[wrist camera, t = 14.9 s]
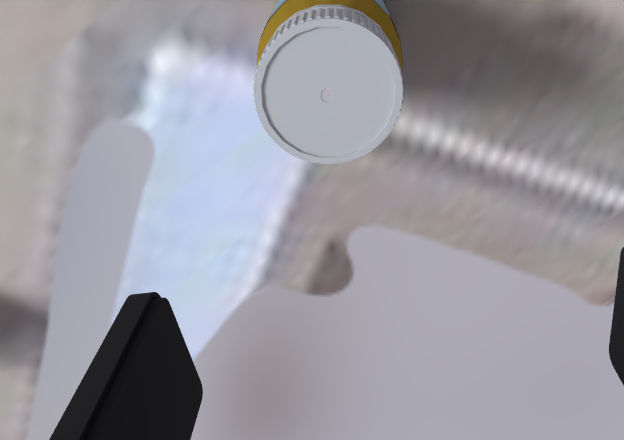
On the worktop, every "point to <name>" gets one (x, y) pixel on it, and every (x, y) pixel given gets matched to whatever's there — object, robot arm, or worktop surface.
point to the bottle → (329, 78)
